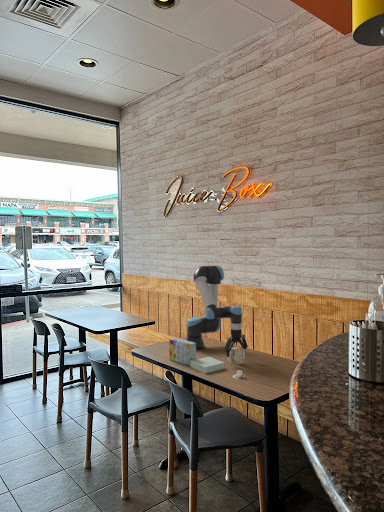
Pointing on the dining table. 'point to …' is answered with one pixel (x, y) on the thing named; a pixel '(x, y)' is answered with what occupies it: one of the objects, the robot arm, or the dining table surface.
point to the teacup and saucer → (238, 374)
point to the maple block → (236, 355)
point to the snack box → (182, 351)
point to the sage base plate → (207, 364)
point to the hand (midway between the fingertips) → (236, 359)
